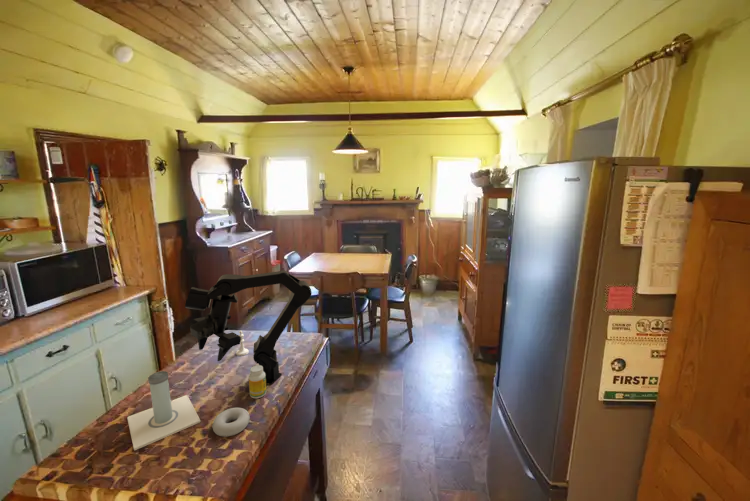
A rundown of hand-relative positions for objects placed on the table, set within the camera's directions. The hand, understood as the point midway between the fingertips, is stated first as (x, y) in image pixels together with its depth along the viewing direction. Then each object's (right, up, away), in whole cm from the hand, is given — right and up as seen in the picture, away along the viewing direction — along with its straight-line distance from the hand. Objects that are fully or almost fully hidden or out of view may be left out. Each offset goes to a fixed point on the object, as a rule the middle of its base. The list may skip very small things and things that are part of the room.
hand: (209, 355), depth 110 cm
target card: (-7, -15, -14) cm, 21 cm away
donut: (+14, -16, -15) cm, 26 cm away
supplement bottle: (+17, -13, -1) cm, 21 cm away
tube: (-7, -14, -14) cm, 21 cm away
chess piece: (0, -8, +26) cm, 27 cm away
